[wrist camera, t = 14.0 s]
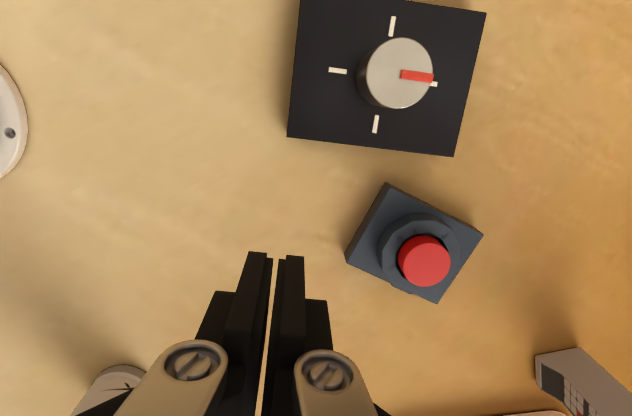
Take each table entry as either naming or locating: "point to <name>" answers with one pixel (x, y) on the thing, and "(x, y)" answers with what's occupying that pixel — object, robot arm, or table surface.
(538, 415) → the computer
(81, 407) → the travel mug
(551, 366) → the vintage mobile phone
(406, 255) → the power button
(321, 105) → the panel
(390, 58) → the hob knob
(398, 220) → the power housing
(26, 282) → the table surface
